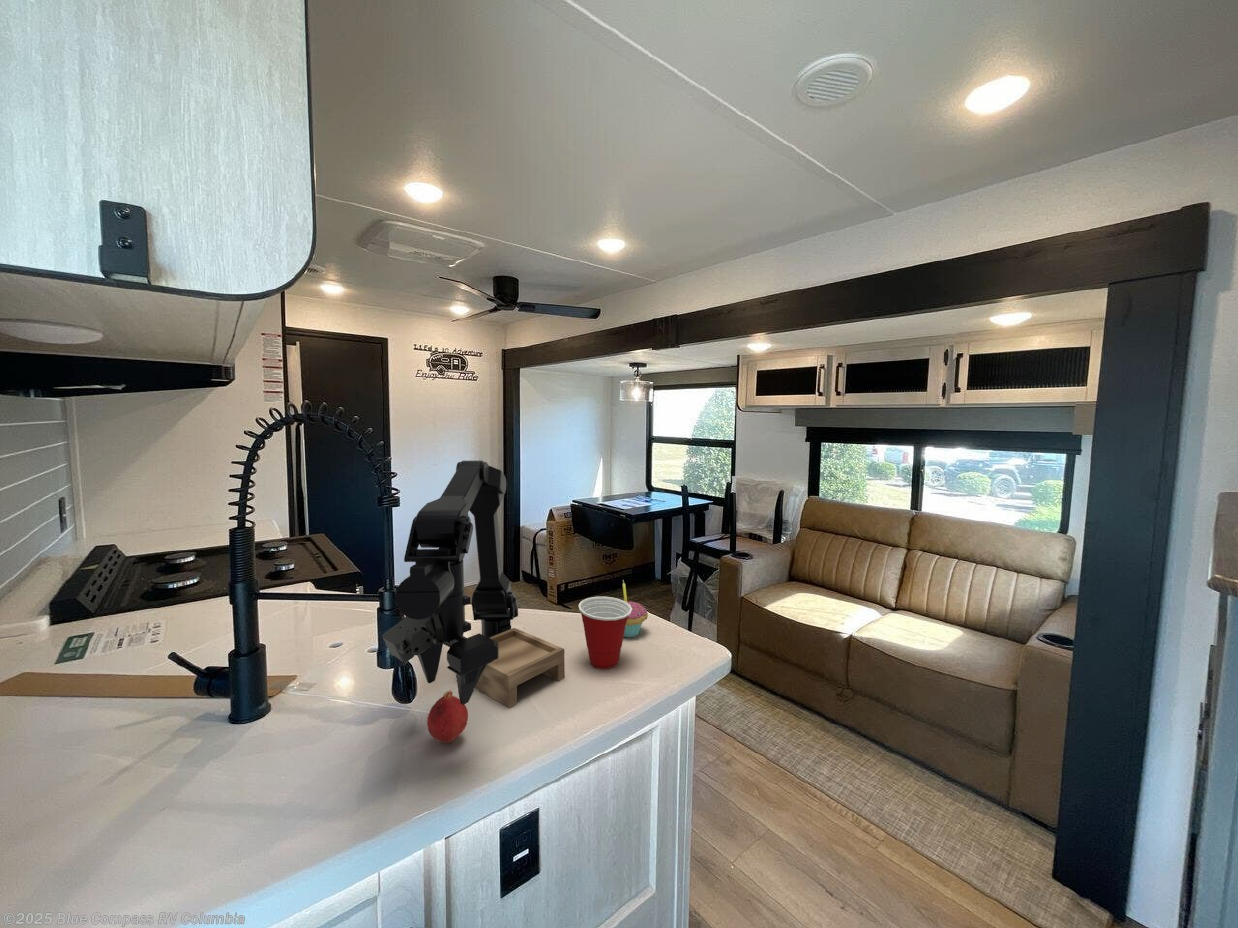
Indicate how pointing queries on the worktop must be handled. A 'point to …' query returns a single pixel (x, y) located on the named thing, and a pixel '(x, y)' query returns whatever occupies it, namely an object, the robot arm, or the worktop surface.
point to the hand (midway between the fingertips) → (447, 692)
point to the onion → (447, 718)
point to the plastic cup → (604, 629)
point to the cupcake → (634, 617)
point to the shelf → (519, 665)
